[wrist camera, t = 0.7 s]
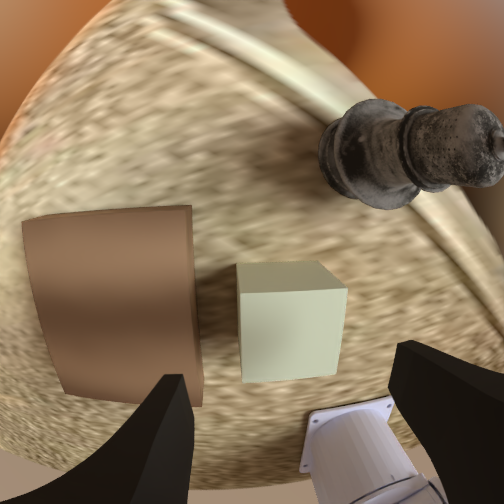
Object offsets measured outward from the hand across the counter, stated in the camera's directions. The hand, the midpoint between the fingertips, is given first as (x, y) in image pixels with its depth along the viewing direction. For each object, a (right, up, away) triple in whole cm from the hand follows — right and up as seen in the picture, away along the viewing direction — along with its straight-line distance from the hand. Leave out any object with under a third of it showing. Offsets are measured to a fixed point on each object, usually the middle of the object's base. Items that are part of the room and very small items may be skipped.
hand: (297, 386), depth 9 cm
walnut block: (-10, +1, +9) cm, 13 cm away
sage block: (0, +1, +10) cm, 10 cm away
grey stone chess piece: (+5, +10, +8) cm, 14 cm away
